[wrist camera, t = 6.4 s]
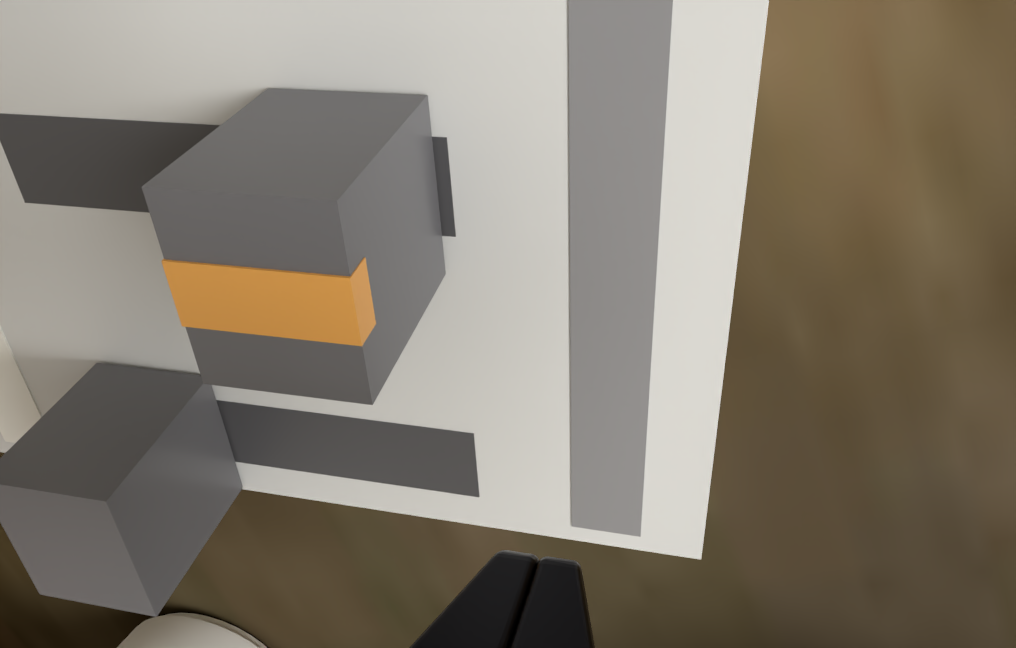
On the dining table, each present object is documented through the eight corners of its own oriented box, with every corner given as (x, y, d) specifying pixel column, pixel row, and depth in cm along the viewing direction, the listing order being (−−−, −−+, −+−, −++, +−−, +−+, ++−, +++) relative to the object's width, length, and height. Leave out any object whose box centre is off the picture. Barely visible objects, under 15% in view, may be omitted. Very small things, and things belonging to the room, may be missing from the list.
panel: (824, -491, 11) (831, -515, 10) (704, 511, 21) (701, 560, 20) (-377, -371, 15) (-476, -377, 14) (7, 412, 26) (-31, 448, 24)
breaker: (208, 376, 20) (105, 501, 17) (243, 486, 22) (156, 617, 19) (96, 362, 21) (-23, 480, 18) (140, 471, 23) (39, 594, 20)
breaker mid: (429, 94, 15) (336, 202, 12) (446, 274, 17) (372, 407, 14) (266, 87, 16) (138, 188, 12) (302, 261, 18) (200, 386, 14)
